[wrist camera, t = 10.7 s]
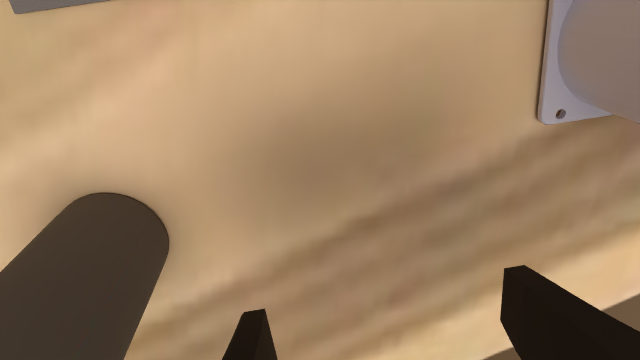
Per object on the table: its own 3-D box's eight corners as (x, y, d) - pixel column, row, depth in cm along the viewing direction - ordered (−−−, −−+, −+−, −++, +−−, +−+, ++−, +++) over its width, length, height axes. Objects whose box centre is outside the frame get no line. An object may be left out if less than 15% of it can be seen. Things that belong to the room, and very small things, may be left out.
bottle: (147, 181, 21) (-104, 537, 7) (184, 270, 23) (49, 658, 10) (36, 204, 21) (-417, 599, 7) (85, 291, 23) (-185, 704, 10)
